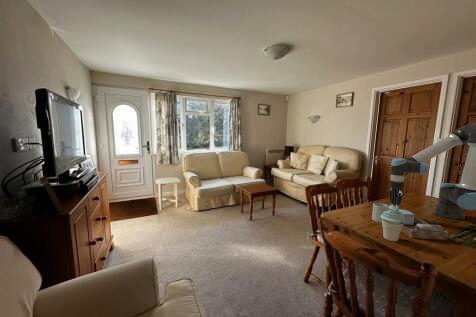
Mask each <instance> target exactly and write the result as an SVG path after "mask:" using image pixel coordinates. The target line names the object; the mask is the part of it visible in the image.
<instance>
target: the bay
mask: <svg viewBox="0 0 476 317" xmlns="http://www.w3.org/2000/svg"><path fill="white" fill-rule="evenodd" d="M414 224H416V225H414V229H411V228H409V227H407V226H406V225H405V224H403V226H402V229H401V231H400V232H402V233H403V234H405V235H407V236H408V237H409V238H410V239H413V238H414V239H426V240H445V241H448V239H449V232H448V231H447V230H444V229H445V228H444V227H443V226H442V225H440V224H430V223H428V222H426V221H424V220H423V219H421V218H419V217H416V216H414Z"/></svg>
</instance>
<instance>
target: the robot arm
mask: <svg viewBox="0 0 476 317" xmlns="http://www.w3.org/2000/svg"><path fill="white" fill-rule="evenodd" d="M464 144H467V145H468V146H469V147H468V152H467V156H466V159H465V162H464V163H465V164H464V166H463V169H462V170H463V171H462V174H461V177H460V182H459V183H450V182H449V183H448V182H445V183H444V182H443V183H441V184H440V186H439V194H438V201H437V202H438V203H437V204H436V206H435V208H433V213H434V214H435V215H437V216H439V217H441V218H442V217H443V218H445V219H452V220H458V221H459V220H465V217H466V215H465V211H464V210H467V211H476V122H472V123H468V124H464V125H463V126H462V127H459V128H457V129H455V130H454V131H451V132H450V133H448V136H446V137H445V138H442V139H441V140H439V141H437V142H435V143H434V144H432V145H430V146H428V147H426V148H424V149H423V150H421V151H419V152H417V153H416V154H413V155H411V156H410V157H408V158H397V157H396V158H393V159H392V160H391V164H390V175H389V178H390V180H389V186H390V187H389V188H388V194H389V202H390V205H392V206H395V207H396V205H397V206H401V202H402V199H403V196H404V195H405V194H404V192H402V188H404V182H405V174H419V175H421V174H422V175H423V174H427V173H428V172H429V169H430V168H429V164H428V163H427V161H430V160H431V159H433V158H436V157H438V156H439V155H441V154H443V153H445V152H446V151H448V150H450V149H452V148H454V147H456V146H462V145H464Z"/></svg>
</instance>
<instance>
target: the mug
mask: <svg viewBox="0 0 476 317" xmlns="http://www.w3.org/2000/svg"><path fill="white" fill-rule="evenodd" d="M387 208H389V205H388V204H386V203H382V202H373V204H372V212H371V213H372V215H371V220H372V221H374V222H376V223H380V224H382V218H381V217H380V216H381V215H382V213H384V211H385V212H387V210H386V209H387Z"/></svg>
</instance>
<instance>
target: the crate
mask: <svg viewBox="0 0 476 317" xmlns="http://www.w3.org/2000/svg"><path fill="white" fill-rule="evenodd" d="M399 210H401V211H402V213H403V214H404V218H405V220H406V221H405V222H403V225H412V226H414V224H415V222H414V217H416V214H414V213H413V212H411V211H410V210H407V209H400V208H399Z"/></svg>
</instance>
